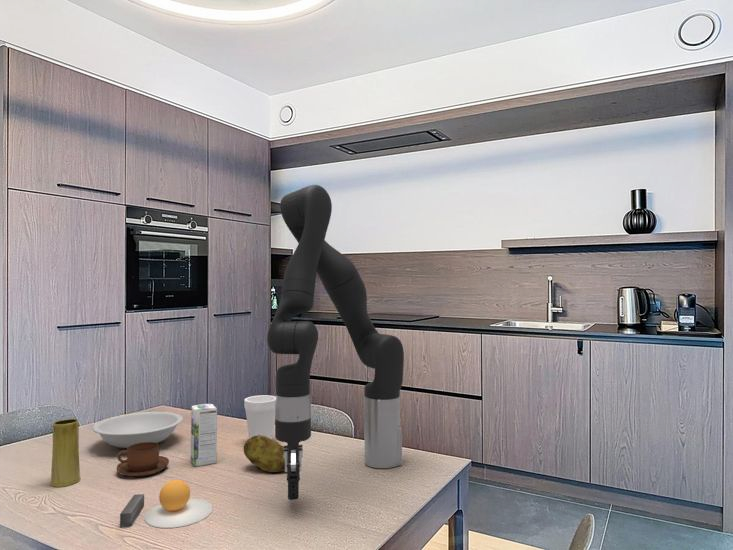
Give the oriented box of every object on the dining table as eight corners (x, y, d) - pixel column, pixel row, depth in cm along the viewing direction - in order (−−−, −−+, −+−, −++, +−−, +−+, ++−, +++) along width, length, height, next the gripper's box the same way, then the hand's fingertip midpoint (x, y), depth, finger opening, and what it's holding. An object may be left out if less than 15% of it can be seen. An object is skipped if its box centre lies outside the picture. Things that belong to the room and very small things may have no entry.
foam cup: (238, 443, 150) (238, 398, 150) (266, 436, 156) (266, 393, 156) (255, 451, 143) (255, 404, 143) (283, 444, 149) (283, 399, 149)
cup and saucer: (115, 483, 120) (115, 457, 120) (117, 467, 131) (117, 442, 132) (170, 476, 125) (170, 450, 125) (167, 460, 136) (167, 437, 136)
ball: (177, 469, 109) (158, 492, 109) (168, 479, 103) (148, 503, 103) (199, 487, 109) (180, 510, 109) (191, 498, 103) (172, 522, 103)
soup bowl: (200, 440, 153) (200, 418, 153) (124, 465, 132) (125, 439, 133) (150, 428, 166) (150, 407, 166) (74, 449, 145) (74, 425, 145)
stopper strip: (144, 506, 108) (144, 494, 108) (131, 526, 99) (131, 513, 99) (134, 506, 108) (134, 494, 108) (120, 527, 99) (120, 513, 99)
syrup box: (189, 460, 135) (189, 405, 136) (212, 456, 138) (212, 402, 138) (194, 467, 130) (194, 410, 131) (217, 463, 133) (217, 407, 133)
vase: (86, 479, 123) (86, 419, 123) (63, 488, 117) (64, 426, 117) (67, 475, 125) (67, 417, 125) (44, 485, 119) (44, 423, 119)
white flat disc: (216, 497, 112) (216, 496, 112) (207, 525, 99) (207, 524, 99) (154, 501, 110) (154, 500, 110) (136, 530, 97) (136, 529, 97)
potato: (277, 479, 122) (277, 446, 122) (238, 469, 129) (237, 437, 129) (299, 468, 129) (299, 436, 129) (260, 459, 136) (260, 429, 136)
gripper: (312, 423, 102) (312, 510, 102) (309, 407, 115) (310, 484, 115) (274, 425, 101) (274, 513, 101) (275, 408, 114) (276, 486, 114)
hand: (293, 498), depth 108 cm, fingers closed
